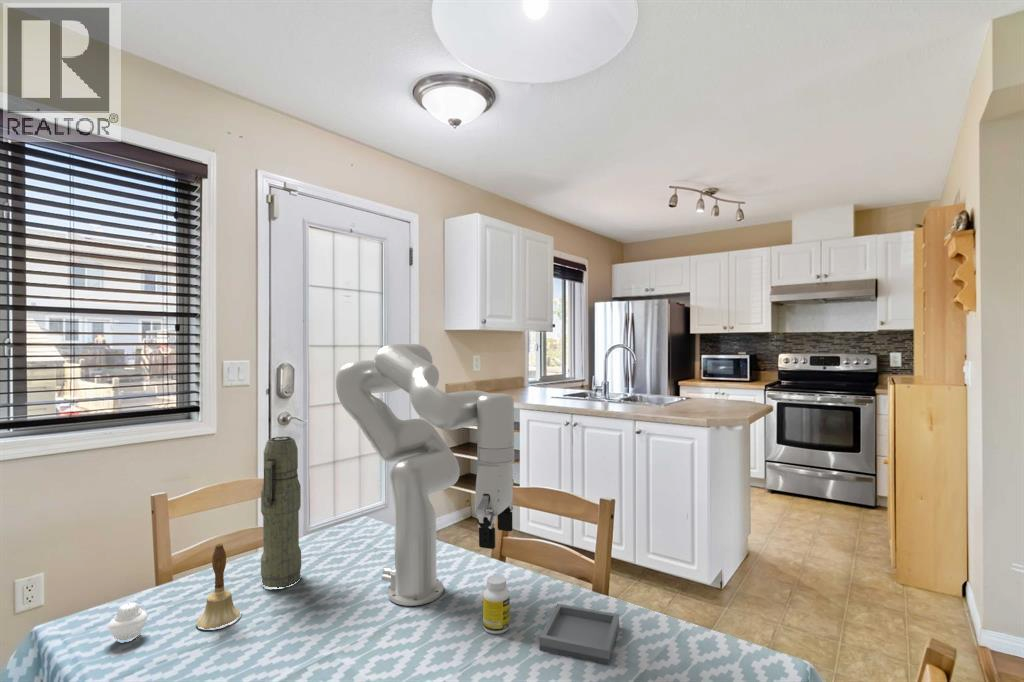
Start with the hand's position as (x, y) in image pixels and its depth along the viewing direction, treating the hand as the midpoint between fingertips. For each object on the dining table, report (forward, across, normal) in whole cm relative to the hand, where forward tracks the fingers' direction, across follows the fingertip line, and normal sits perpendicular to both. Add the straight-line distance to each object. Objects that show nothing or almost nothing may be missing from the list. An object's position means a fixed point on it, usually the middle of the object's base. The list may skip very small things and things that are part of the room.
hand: (496, 538), depth 103 cm
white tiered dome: (+18, +28, -67) cm, 75 cm away
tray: (+18, -2, +17) cm, 25 cm away
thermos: (+18, -1, -57) cm, 60 cm away
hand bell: (+18, +17, -56) cm, 61 cm away
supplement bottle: (+18, 0, 0) cm, 18 cm away
